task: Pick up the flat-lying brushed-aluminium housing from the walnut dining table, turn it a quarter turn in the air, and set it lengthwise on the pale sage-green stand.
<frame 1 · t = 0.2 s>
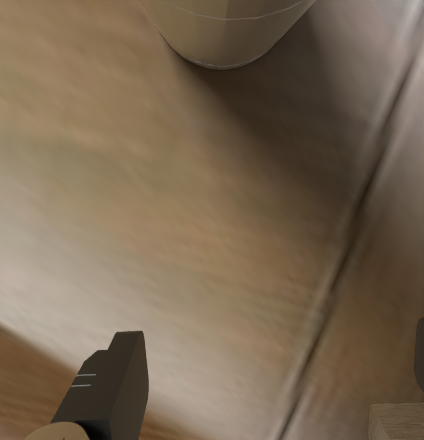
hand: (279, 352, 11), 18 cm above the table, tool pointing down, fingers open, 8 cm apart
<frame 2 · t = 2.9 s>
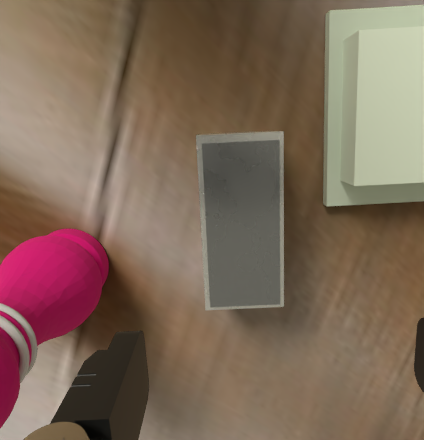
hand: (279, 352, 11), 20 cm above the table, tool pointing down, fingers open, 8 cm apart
housing: (236, 207, 31), on the table
pepper mill: (73, 263, 32), on the table
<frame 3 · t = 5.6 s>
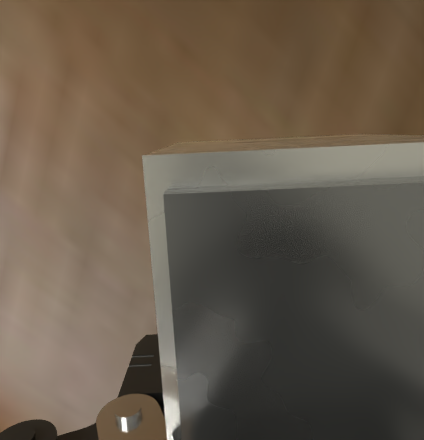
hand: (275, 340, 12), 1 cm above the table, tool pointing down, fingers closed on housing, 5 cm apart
housing: (271, 320, 13), on the table, touching gripper
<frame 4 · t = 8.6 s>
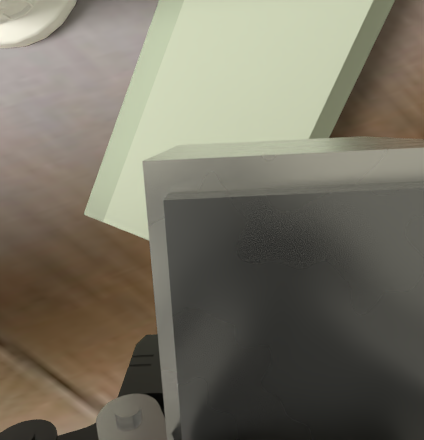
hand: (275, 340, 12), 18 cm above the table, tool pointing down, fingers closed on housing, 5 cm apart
housing: (271, 322, 13), point 16 cm above the table, touching gripper
stand: (237, 95, 27), on the table
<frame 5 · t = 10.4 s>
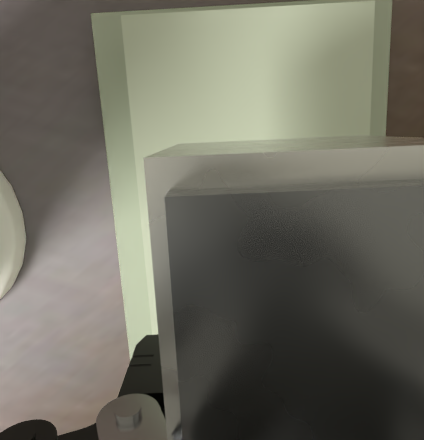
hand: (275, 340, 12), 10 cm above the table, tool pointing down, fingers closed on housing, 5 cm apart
housing: (271, 321, 13), point 9 cm above the table, touching gripper
stand: (247, 245, 21), on the table
when the fingers open (6 cm above the table, at t = 11.9 s): housing drops 1 cm, resting on stand.
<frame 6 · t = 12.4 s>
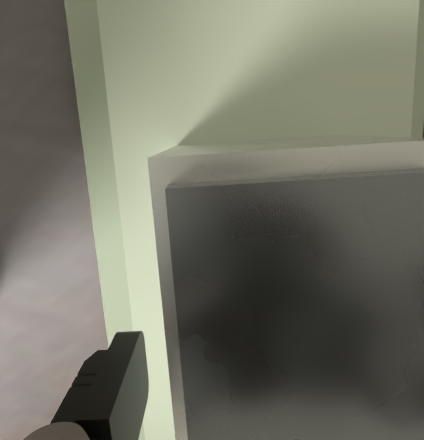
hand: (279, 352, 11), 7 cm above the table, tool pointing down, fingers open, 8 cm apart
housing: (264, 305, 14), point 4 cm above the table, touching stand
stand: (253, 267, 18), on the table
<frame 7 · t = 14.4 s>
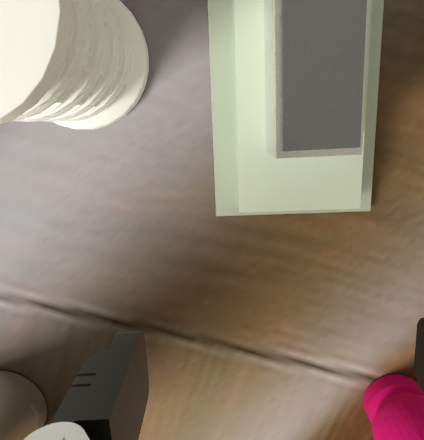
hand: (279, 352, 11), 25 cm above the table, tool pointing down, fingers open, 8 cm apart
housing: (301, 69, 29), point 4 cm above the table, touching stand
decorative container: (83, 60, 33), on the table
stand: (292, 75, 33), on the table
pepper mill: (391, 397, 41), on the table
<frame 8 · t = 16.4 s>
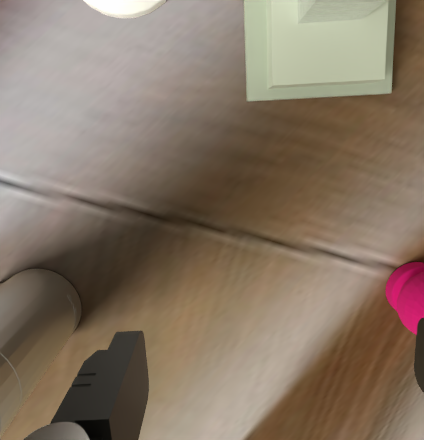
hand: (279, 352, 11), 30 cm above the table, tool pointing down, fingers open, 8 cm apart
pepper mill: (412, 286, 43), on the table
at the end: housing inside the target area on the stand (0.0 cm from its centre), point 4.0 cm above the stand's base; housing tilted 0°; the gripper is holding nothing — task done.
